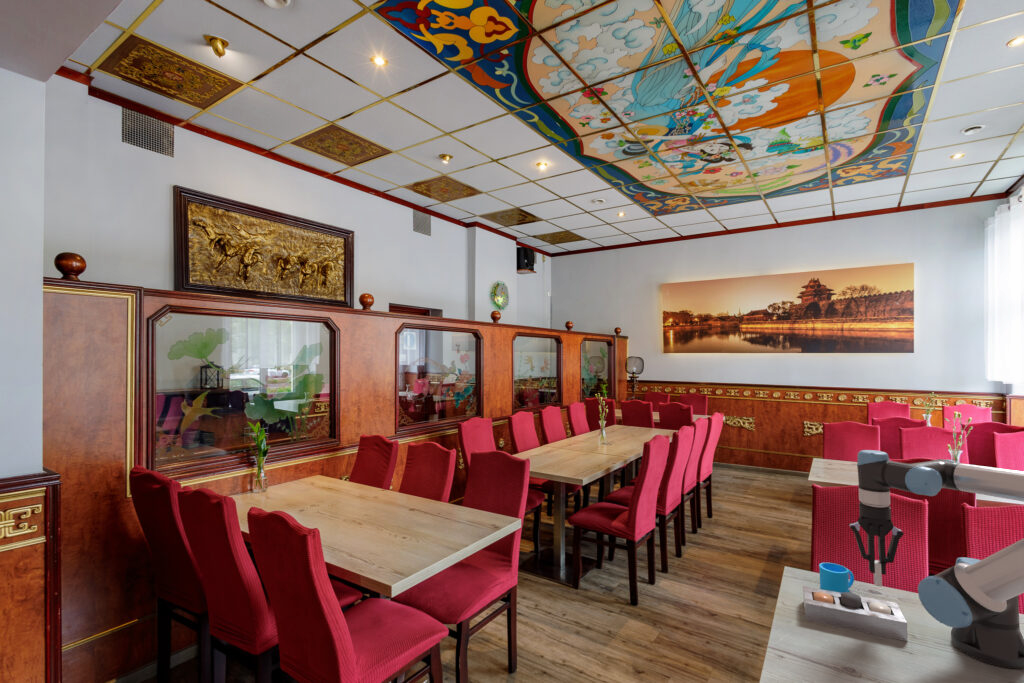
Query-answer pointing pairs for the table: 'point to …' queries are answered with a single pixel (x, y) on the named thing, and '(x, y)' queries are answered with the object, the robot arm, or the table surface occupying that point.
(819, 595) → the button terracotta
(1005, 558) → the robot arm
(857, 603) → the button black
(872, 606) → the button ivory
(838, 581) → the mug
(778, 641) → the table surface
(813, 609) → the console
